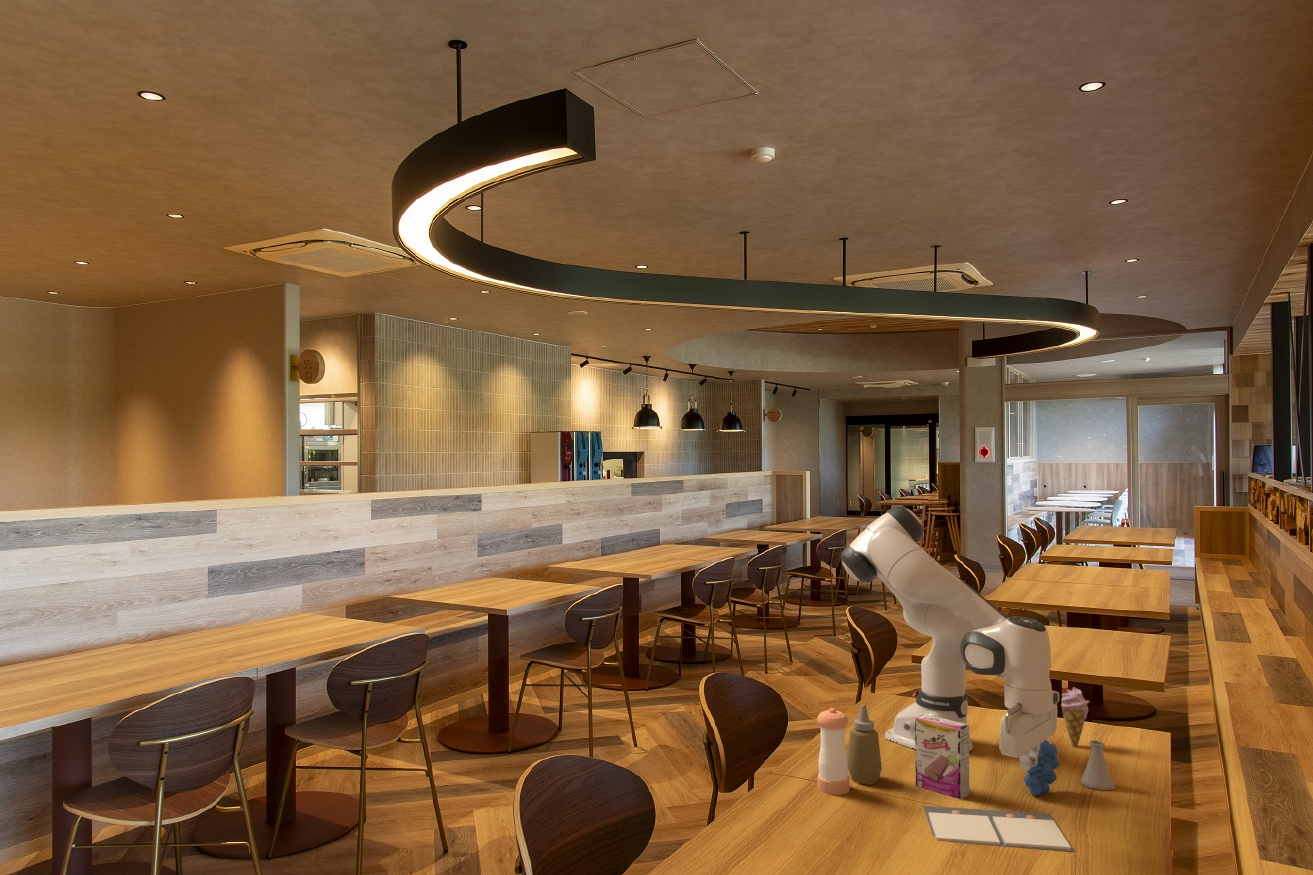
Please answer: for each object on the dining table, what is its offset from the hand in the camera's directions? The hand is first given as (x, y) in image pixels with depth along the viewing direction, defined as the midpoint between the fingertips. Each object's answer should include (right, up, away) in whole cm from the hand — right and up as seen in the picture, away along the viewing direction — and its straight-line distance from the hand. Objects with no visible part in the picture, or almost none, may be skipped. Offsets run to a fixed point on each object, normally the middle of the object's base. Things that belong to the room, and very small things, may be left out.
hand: (1028, 767), depth 171 cm
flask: (+28, -15, +26) cm, 41 cm away
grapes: (+12, -15, +22) cm, 29 cm away
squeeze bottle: (-26, -15, +29) cm, 42 cm away
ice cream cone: (+35, -15, +52) cm, 65 cm away
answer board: (-6, -14, +3) cm, 16 cm away
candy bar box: (-10, -15, +23) cm, 29 cm away
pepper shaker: (-35, -15, +24) cm, 45 cm away
